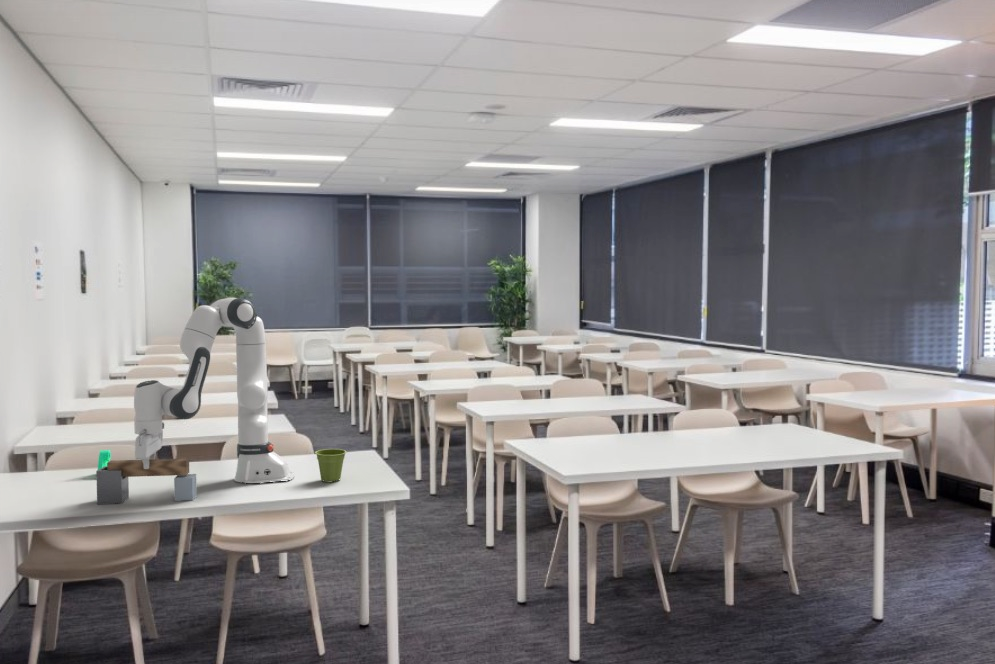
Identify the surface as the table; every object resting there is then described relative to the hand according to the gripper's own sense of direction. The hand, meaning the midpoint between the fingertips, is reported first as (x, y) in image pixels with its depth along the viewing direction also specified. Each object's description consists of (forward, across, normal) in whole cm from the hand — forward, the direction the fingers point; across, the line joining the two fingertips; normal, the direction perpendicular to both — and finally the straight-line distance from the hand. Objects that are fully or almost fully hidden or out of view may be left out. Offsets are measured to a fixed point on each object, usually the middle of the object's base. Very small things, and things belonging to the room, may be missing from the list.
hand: (149, 466), depth 272 cm
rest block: (+12, 0, -12) cm, 17 cm away
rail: (+3, 0, 0) cm, 3 cm away
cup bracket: (+12, 0, +12) cm, 17 cm away
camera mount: (+12, +42, +26) cm, 51 cm away
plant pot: (+12, +20, -61) cm, 65 cm away
